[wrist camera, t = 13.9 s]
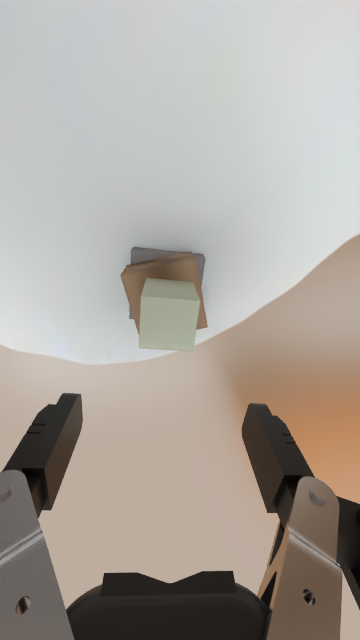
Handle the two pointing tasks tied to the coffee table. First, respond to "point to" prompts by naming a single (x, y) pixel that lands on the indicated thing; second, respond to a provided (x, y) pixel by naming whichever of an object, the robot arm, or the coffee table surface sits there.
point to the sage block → (168, 315)
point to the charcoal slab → (151, 254)
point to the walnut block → (162, 268)
